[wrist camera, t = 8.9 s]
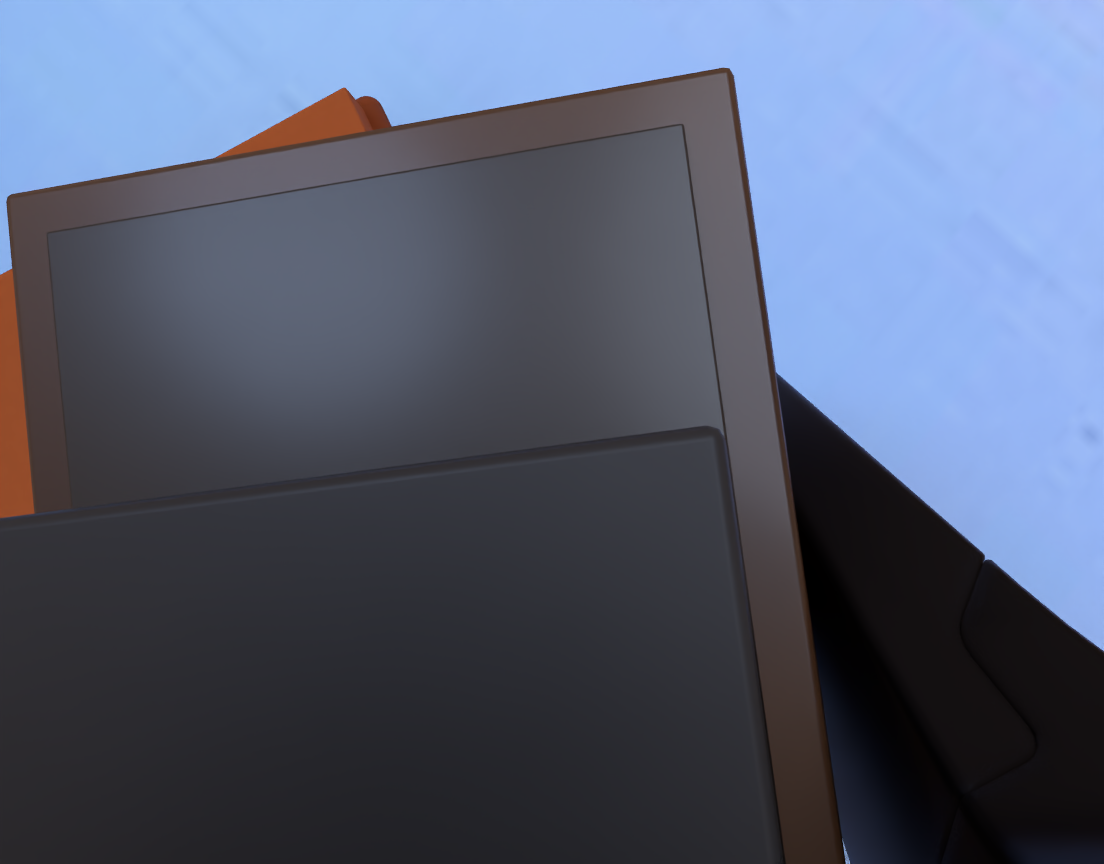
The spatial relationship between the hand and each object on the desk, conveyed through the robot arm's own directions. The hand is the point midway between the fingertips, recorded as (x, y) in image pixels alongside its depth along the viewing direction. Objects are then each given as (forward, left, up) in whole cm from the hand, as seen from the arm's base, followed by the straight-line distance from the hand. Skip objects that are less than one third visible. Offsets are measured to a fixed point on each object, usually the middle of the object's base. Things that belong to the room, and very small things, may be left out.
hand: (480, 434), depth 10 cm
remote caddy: (-1, 0, -7) cm, 7 cm away
